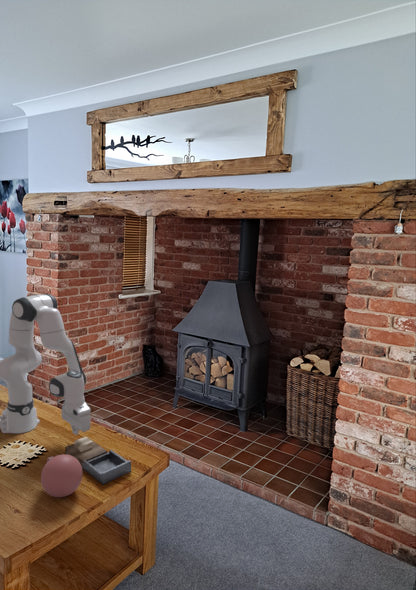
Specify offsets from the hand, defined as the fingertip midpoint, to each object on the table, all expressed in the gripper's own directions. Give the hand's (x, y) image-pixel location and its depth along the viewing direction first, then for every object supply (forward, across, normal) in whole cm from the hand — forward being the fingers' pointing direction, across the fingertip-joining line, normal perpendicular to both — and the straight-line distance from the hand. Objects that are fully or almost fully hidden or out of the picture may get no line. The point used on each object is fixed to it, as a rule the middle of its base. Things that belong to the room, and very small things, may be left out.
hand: (75, 433), depth 201 cm
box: (+7, +26, 0) cm, 27 cm away
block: (+4, +7, 0) cm, 8 cm away
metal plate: (+7, +9, 0) cm, 12 cm away
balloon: (+7, +25, -22) cm, 34 cm away
